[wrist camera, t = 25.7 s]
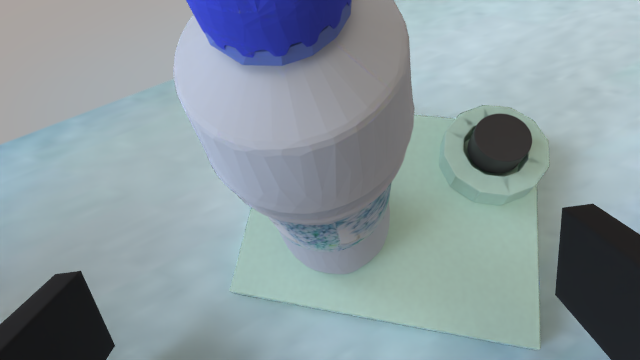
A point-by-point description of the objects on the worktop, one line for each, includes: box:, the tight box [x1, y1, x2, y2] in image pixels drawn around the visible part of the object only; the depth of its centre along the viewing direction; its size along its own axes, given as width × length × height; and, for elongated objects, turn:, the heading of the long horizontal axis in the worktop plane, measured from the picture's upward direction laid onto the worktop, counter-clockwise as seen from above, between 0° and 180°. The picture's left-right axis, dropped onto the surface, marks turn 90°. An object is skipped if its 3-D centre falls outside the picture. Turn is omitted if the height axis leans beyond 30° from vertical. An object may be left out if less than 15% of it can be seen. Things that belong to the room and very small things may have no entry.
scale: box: [230, 105, 549, 350], centre depth 25 cm, size 18×14×3 cm
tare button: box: [467, 113, 532, 174], centre depth 23 cm, size 3×3×2 cm
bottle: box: [174, 0, 414, 274], centre depth 15 cm, size 7×7×20 cm
